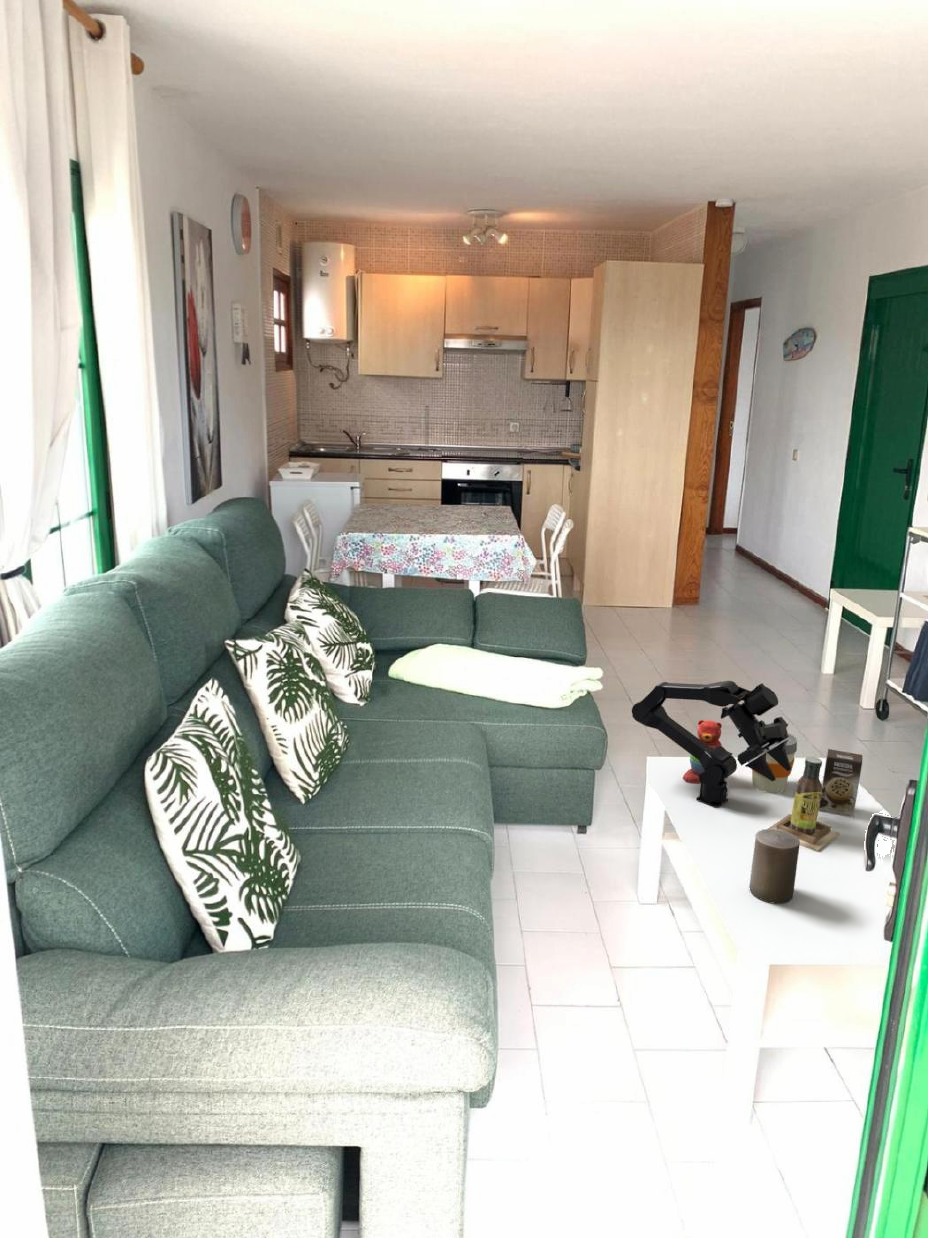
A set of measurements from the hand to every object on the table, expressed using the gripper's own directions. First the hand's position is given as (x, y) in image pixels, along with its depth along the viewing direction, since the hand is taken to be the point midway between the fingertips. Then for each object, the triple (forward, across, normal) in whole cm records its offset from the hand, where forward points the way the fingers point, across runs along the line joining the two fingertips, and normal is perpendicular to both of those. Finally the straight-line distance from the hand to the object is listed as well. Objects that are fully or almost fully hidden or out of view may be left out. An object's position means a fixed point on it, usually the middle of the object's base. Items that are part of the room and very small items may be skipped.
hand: (782, 775), depth 250 cm
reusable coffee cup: (+2, +20, +18) cm, 27 cm away
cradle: (+15, 0, +4) cm, 16 cm away
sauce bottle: (+14, 0, +4) cm, 15 cm away
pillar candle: (+20, -34, 0) cm, 39 cm away
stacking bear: (-9, +11, +29) cm, 32 cm away
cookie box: (+16, +20, +4) cm, 25 cm away
